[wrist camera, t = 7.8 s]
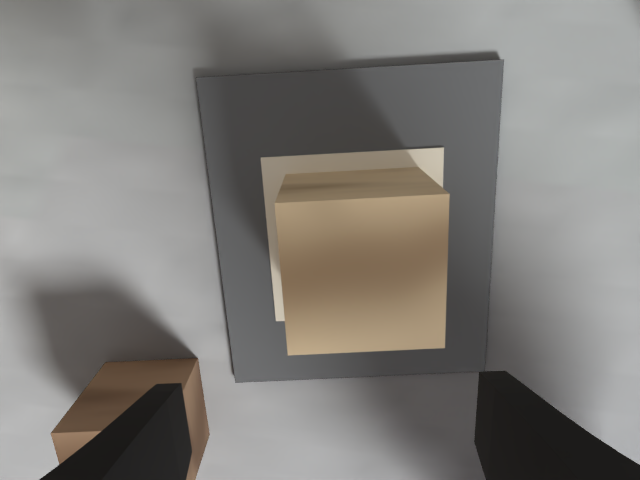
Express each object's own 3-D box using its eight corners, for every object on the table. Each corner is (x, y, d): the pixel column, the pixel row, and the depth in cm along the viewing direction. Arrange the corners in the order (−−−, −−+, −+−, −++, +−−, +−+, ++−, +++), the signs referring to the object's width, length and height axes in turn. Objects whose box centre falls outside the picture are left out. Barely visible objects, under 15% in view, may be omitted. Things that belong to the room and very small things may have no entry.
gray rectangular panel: (482, 367, 23) (485, 372, 23) (236, 379, 23) (235, 384, 23) (501, 59, 19) (504, 59, 18) (197, 77, 19) (195, 77, 19)
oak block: (417, 289, 21) (444, 347, 17) (295, 295, 22) (287, 355, 17) (418, 167, 20) (449, 193, 15) (285, 174, 20) (274, 203, 15)
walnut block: (209, 433, 25) (183, 518, 20) (123, 437, 25) (75, 522, 20) (198, 357, 23) (166, 428, 18) (106, 361, 23) (50, 433, 18)
